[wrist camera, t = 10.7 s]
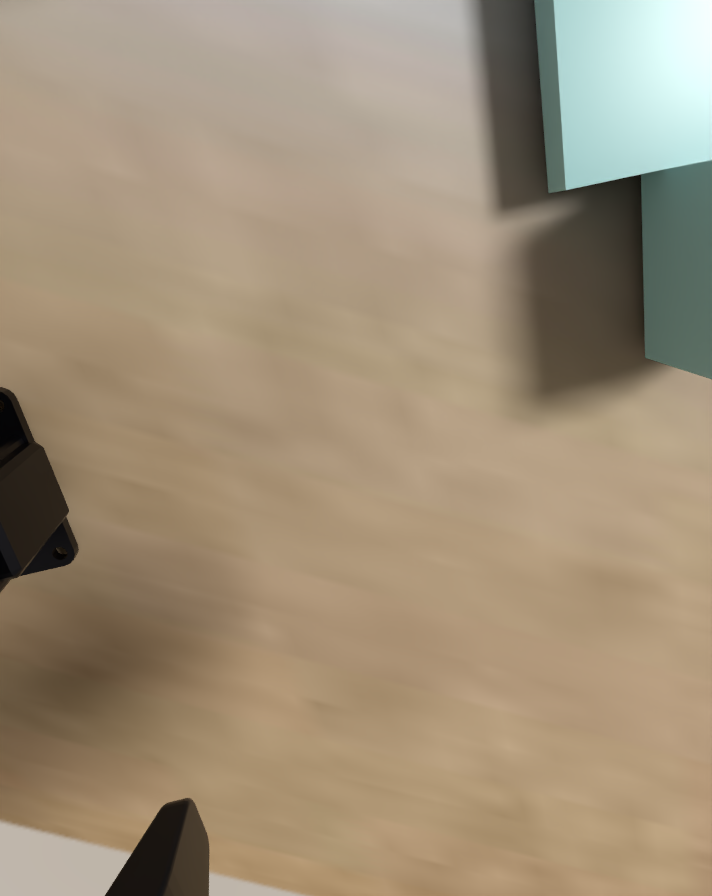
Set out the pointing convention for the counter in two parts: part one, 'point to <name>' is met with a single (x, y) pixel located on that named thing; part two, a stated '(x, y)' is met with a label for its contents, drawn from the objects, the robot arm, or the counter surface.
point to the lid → (641, 143)
